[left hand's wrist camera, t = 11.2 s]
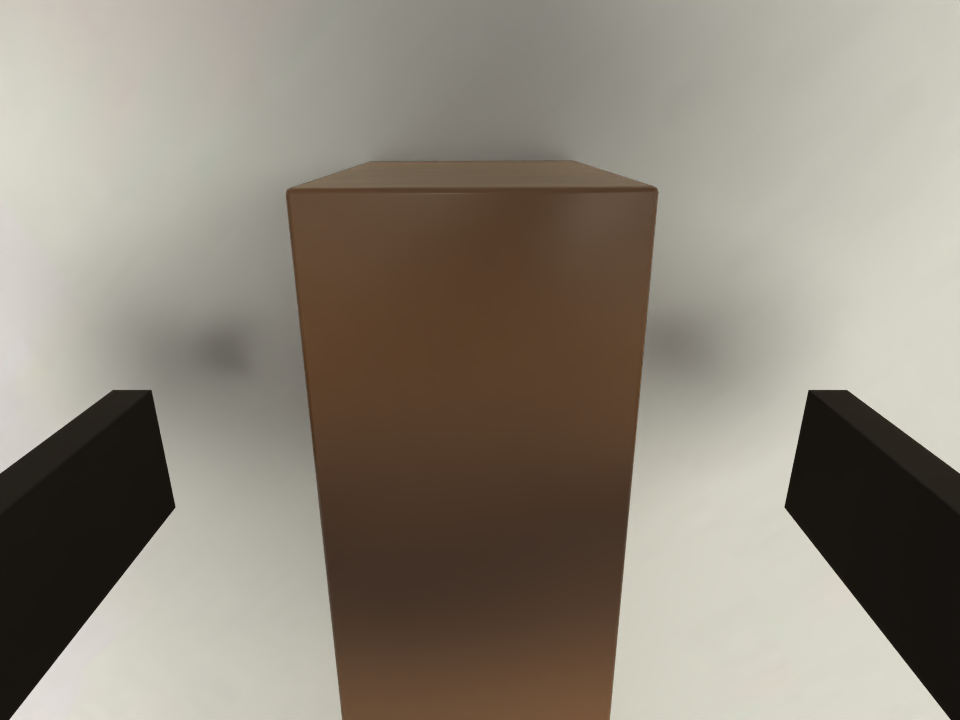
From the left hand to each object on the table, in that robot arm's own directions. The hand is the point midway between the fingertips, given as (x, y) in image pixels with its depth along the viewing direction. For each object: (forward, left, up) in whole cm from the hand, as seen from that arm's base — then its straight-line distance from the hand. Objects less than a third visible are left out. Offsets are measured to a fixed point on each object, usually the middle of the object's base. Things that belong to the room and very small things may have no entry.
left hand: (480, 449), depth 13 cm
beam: (+19, +4, -6) cm, 21 cm away
